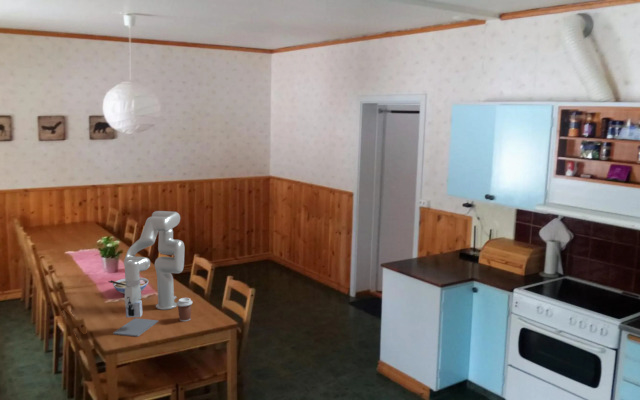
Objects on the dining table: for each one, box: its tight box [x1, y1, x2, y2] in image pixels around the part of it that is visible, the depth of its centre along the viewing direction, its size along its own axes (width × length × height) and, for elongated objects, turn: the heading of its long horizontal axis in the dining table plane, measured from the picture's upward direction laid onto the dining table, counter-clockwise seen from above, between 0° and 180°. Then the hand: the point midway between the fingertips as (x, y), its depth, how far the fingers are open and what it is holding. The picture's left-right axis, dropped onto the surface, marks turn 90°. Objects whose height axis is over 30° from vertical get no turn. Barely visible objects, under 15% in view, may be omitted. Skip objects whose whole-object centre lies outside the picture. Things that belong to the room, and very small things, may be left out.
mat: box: [112, 317, 159, 337], centre depth 318 cm, size 22×15×1 cm
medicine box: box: [125, 300, 143, 318], centre depth 316 cm, size 8×4×9 cm, turn 91°
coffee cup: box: [176, 297, 193, 322], centre depth 330 cm, size 9×9×12 cm
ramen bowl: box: [108, 277, 149, 295], centre depth 377 cm, size 25×23×8 cm
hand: (134, 313), depth 316 cm, fingers closed on medicine box, 5 cm apart
